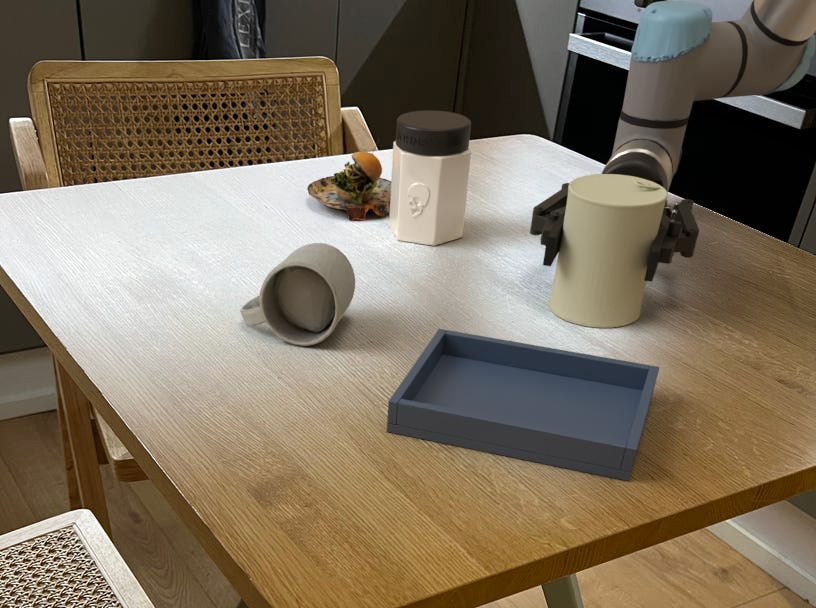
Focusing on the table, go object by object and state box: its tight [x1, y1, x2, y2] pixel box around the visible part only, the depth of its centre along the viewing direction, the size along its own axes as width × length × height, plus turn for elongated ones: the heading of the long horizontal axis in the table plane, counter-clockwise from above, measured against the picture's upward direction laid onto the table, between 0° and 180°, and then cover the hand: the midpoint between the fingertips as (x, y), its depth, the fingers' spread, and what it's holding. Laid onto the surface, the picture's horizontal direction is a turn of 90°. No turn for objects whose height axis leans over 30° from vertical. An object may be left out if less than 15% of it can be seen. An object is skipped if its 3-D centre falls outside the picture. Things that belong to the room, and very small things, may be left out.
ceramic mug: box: [239, 242, 356, 347], centre depth 91 cm, size 11×8×8 cm
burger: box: [306, 139, 391, 222], centre depth 118 cm, size 12×12×8 cm
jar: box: [388, 110, 472, 247], centre depth 109 cm, size 9×8×12 cm
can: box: [547, 173, 669, 329], centre depth 94 cm, size 9×9×12 cm
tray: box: [386, 328, 660, 482], centre depth 81 cm, size 20×15×3 cm
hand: (599, 258), depth 90 cm, fingers closed on can, 9 cm apart
